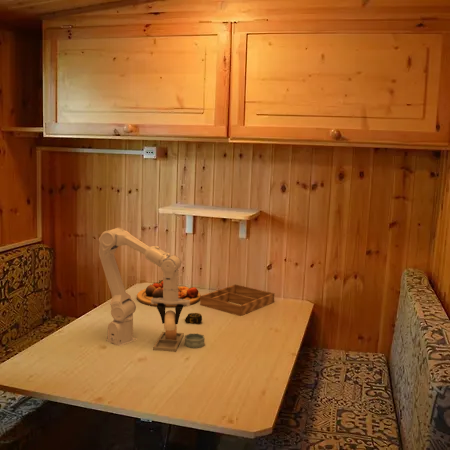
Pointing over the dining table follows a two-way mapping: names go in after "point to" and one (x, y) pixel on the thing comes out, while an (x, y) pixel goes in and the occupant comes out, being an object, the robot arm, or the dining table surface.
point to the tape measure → (193, 318)
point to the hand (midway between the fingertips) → (170, 323)
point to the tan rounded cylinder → (169, 320)
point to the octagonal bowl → (194, 340)
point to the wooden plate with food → (157, 292)
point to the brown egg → (171, 334)
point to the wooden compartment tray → (237, 299)
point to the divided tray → (168, 343)
